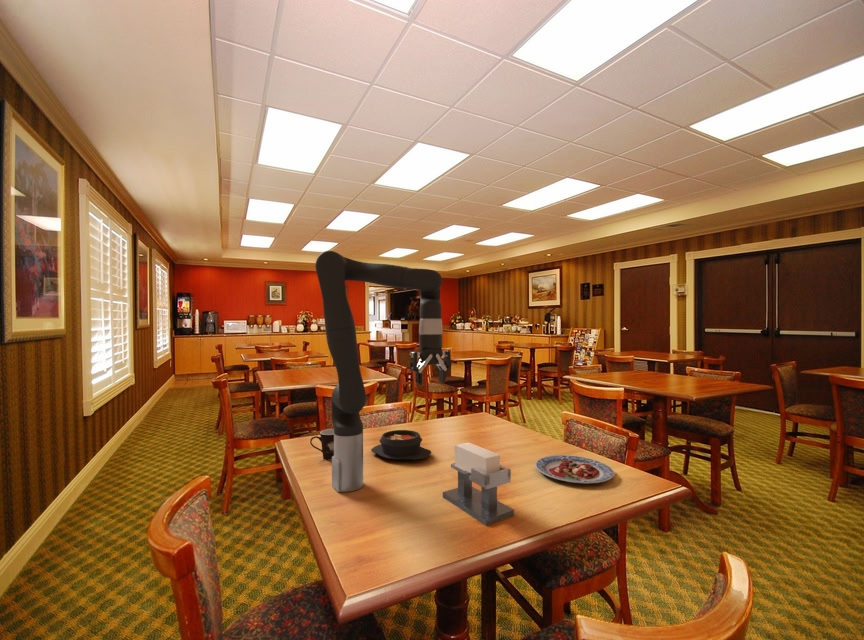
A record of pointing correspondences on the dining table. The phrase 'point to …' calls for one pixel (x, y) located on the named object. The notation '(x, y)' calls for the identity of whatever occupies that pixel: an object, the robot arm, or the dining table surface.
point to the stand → (480, 494)
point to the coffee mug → (326, 443)
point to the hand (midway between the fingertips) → (430, 383)
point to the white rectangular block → (476, 458)
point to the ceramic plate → (574, 469)
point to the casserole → (401, 446)
